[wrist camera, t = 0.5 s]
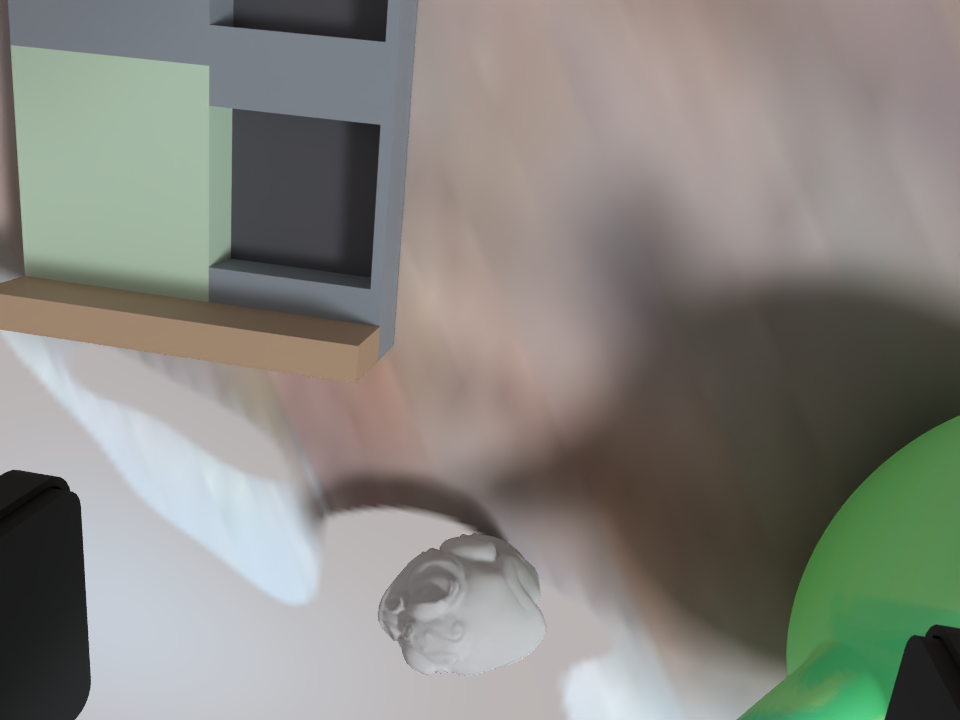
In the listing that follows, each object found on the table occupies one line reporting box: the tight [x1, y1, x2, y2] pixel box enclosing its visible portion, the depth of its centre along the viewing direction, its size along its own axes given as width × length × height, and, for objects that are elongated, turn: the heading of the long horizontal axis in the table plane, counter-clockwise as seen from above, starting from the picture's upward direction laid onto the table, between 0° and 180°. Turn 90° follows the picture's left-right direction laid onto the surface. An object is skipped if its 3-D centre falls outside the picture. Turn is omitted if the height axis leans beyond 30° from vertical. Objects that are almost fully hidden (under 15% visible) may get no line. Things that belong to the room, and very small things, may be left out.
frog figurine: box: [378, 533, 547, 675], centre depth 38 cm, size 6×7×7 cm
